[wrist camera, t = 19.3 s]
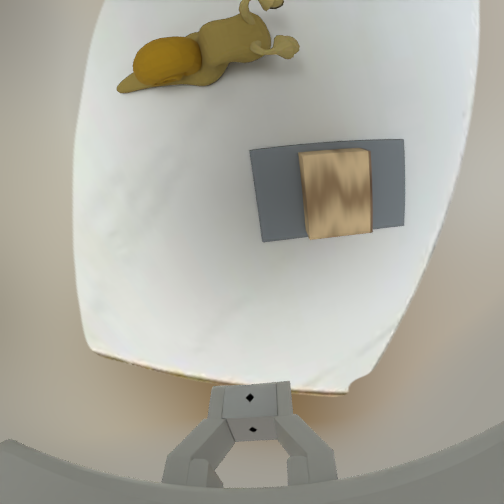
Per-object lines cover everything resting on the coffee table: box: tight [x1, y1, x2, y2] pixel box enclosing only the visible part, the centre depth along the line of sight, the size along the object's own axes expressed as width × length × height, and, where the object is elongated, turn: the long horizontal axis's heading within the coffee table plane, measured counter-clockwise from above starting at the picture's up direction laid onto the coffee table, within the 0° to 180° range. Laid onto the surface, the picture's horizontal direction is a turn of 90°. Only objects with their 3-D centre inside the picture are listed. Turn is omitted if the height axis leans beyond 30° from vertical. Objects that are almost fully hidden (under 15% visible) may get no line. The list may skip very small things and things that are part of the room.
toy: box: [117, 0, 300, 93], centre depth 25 cm, size 8×21×10 cm, turn 103°
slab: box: [298, 148, 373, 240], centre depth 34 cm, size 10×4×8 cm
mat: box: [250, 139, 405, 242], centre depth 36 cm, size 12×20×1 cm, turn 98°
